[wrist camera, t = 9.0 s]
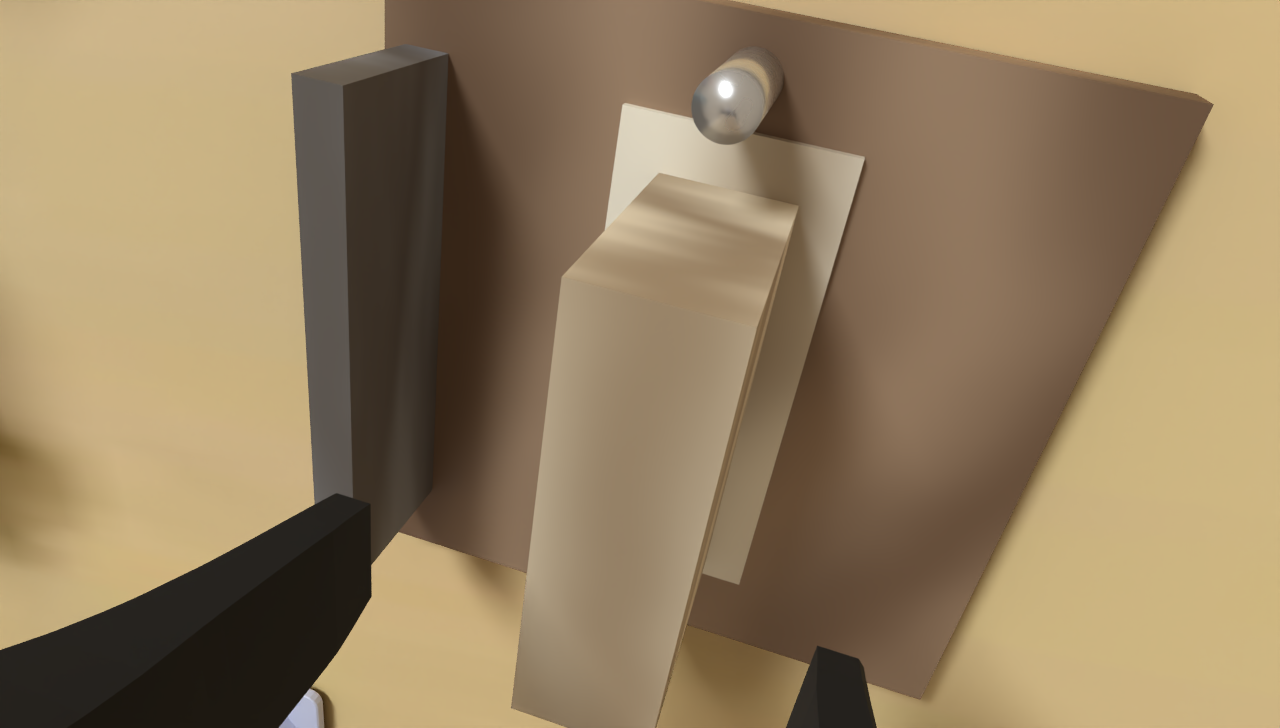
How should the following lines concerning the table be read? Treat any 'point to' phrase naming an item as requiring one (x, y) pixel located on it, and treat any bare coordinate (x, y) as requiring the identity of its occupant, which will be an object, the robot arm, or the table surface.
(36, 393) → the table surface
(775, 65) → the hinge pins
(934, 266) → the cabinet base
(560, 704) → the beige wooden block
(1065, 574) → the table surface
